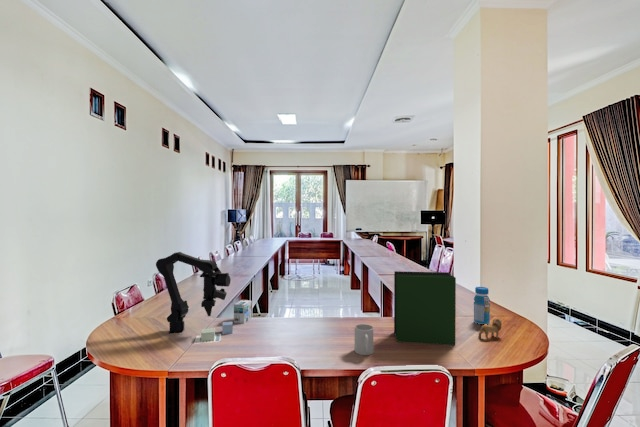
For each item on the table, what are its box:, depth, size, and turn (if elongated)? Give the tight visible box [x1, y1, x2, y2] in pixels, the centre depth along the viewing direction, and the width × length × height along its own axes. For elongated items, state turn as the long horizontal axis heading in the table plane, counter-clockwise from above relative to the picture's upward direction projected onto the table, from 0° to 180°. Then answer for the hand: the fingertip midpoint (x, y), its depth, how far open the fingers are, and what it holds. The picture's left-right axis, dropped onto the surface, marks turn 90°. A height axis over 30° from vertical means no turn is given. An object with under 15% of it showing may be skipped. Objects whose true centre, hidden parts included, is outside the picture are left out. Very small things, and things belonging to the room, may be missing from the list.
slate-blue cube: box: [221, 320, 234, 335], centre depth 174 cm, size 5×5×5 cm
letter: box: [193, 333, 222, 345], centre depth 165 cm, size 12×11×1 cm
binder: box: [393, 270, 457, 346], centre depth 168 cm, size 27×15×32 cm, turn 83°
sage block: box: [200, 327, 216, 341], centre depth 165 cm, size 6×6×4 cm
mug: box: [353, 323, 374, 356], centre depth 150 cm, size 12×8×11 cm
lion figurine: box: [478, 318, 503, 341], centre depth 169 cm, size 15×5×9 cm, turn 116°
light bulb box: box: [233, 299, 253, 325], centre depth 194 cm, size 11×7×11 cm, turn 168°
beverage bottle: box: [473, 286, 491, 325], centre depth 191 cm, size 8×8×20 cm
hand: (209, 316), depth 173 cm, fingers closed
